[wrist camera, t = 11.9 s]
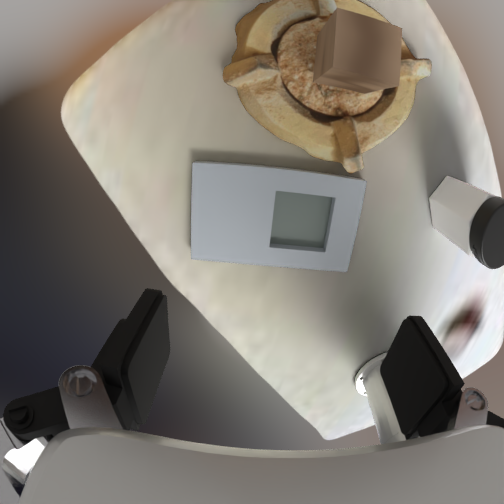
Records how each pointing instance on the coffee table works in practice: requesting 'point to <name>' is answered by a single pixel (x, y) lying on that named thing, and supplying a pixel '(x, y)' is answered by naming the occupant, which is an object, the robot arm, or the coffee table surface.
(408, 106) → the ashtray
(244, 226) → the pocket board
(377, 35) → the block
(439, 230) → the jar
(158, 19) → the coffee table surface
